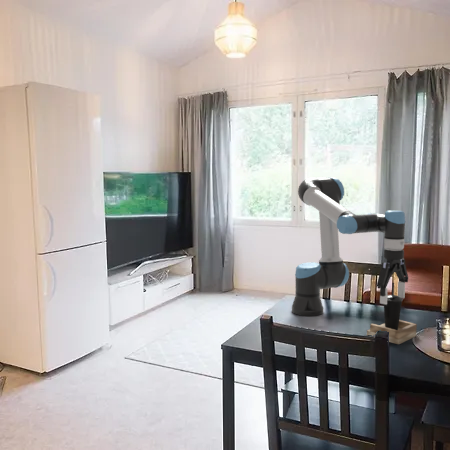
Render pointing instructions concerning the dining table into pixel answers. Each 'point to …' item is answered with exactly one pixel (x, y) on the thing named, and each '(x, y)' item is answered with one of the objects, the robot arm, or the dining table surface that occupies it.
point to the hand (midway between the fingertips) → (392, 300)
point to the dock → (396, 331)
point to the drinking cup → (392, 310)
